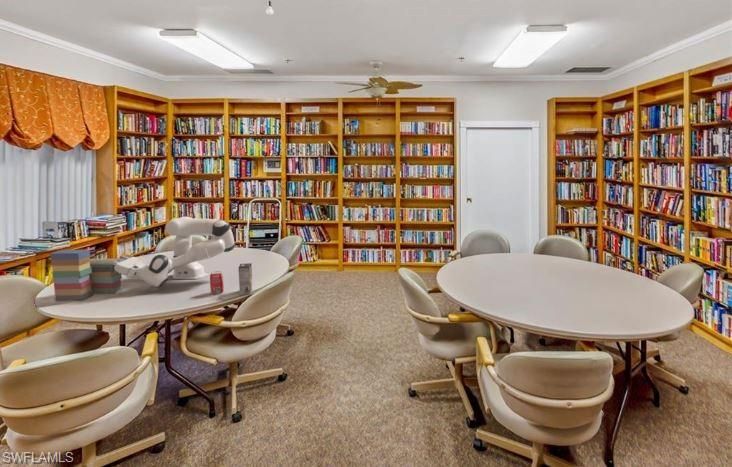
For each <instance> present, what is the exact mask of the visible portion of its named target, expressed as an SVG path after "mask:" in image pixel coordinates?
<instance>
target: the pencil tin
mask: <svg viewBox="0 0 732 467" xmlns="http://www.w3.org/2000/svg"><path fill="white" fill-rule="evenodd" d="M111 259H112V258H90V265H114V264H113V263H111V262H110V261H111ZM113 259H114V260H115V261H116V262H121V261H124V260H125V259H119V258H113Z"/></svg>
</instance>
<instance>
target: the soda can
mask: <svg viewBox="0 0 732 467" xmlns="http://www.w3.org/2000/svg"><path fill="white" fill-rule="evenodd" d="M209 284H210V285H209V286H210V288H209V289H210V293H211V294H213V295H219V294H222V293H224V291H225V290H224V288H225V287H224V274H223V273H222V271H219V270H218V271H217V270H216V271H212V272H210V275H209Z"/></svg>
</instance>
